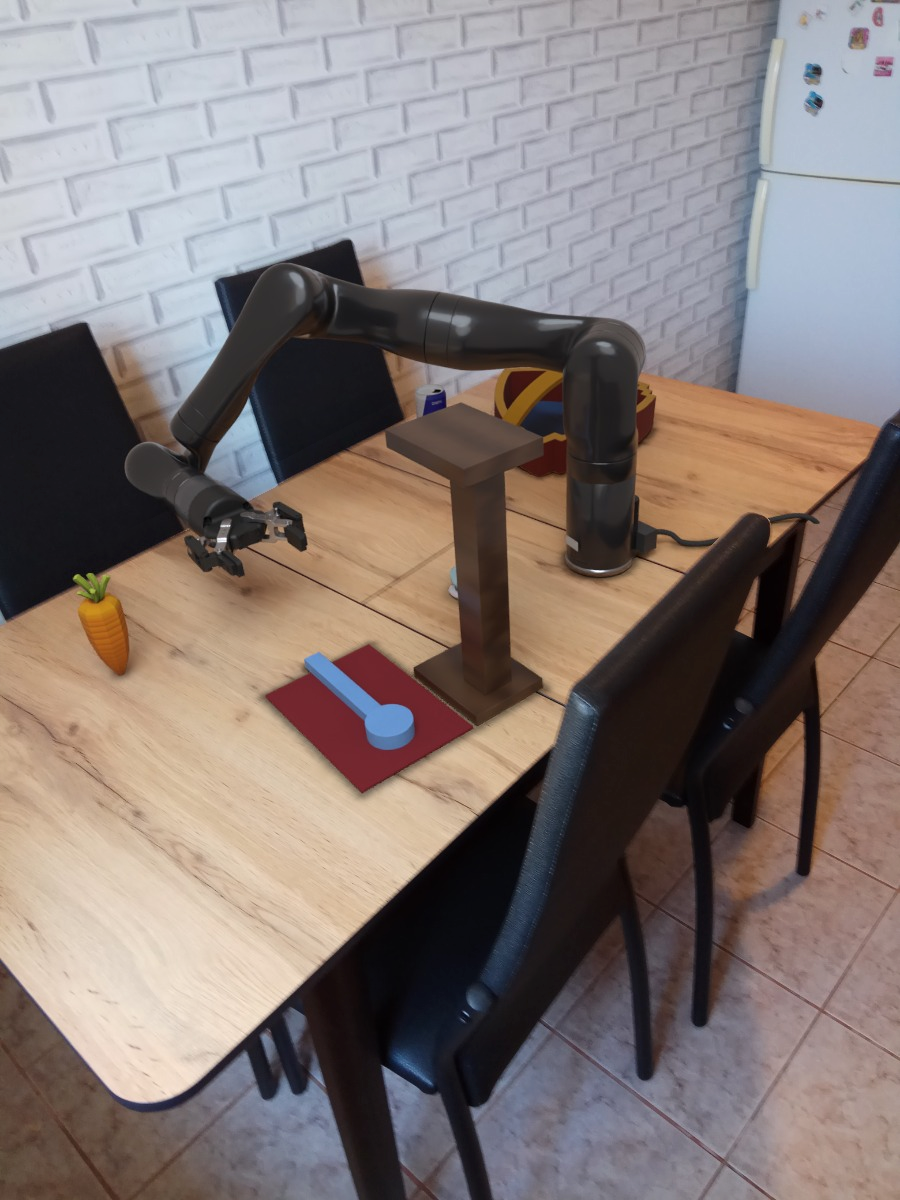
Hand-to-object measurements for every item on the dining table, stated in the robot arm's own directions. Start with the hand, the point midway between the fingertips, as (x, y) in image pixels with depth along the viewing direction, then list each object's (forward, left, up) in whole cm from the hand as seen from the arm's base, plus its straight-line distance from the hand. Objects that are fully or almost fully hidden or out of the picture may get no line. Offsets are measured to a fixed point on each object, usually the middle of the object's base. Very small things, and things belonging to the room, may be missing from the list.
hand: (273, 557), depth 112 cm
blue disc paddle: (0, +16, -13) cm, 20 cm away
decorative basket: (-69, -22, -14) cm, 74 cm away
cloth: (0, +18, -13) cm, 22 cm away
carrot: (+19, -10, -14) cm, 25 cm away
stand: (-13, +22, -13) cm, 29 cm away
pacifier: (-25, +6, -14) cm, 29 cm away
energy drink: (-48, -32, -14) cm, 60 cm away
